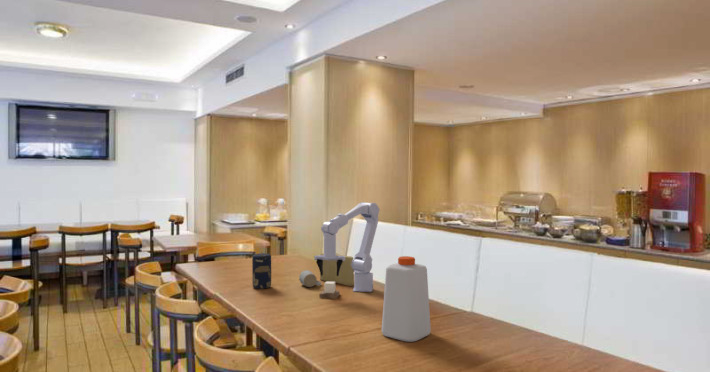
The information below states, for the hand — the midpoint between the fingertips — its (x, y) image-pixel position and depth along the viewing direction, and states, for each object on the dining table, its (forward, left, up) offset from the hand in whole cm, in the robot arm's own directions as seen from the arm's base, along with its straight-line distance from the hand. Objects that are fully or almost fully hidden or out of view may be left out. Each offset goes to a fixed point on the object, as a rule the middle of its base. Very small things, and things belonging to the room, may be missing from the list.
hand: (329, 275), depth 228 cm
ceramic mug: (+13, -20, -10) cm, 26 cm away
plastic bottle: (-36, +51, -10) cm, 63 cm away
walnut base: (0, 0, -10) cm, 10 cm away
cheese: (-1, -29, -10) cm, 31 cm away
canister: (+37, -13, -10) cm, 40 cm away
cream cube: (0, 0, -8) cm, 8 cm away
